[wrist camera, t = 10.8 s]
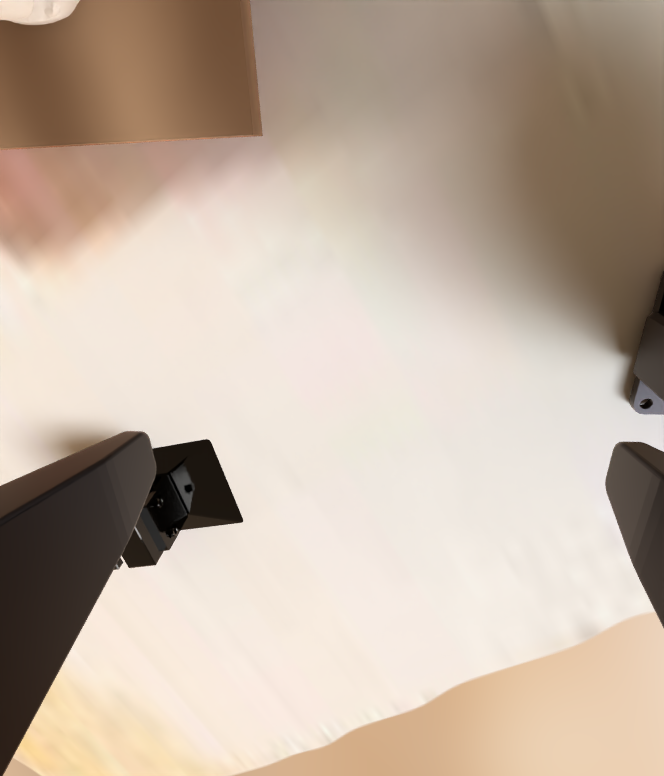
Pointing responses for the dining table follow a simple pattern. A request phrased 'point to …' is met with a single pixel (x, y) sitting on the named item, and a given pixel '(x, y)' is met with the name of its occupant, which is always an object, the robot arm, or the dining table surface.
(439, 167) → the dining table surface
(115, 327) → the dining table surface
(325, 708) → the dining table surface
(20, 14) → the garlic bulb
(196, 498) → the build plate
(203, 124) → the walnut stand
